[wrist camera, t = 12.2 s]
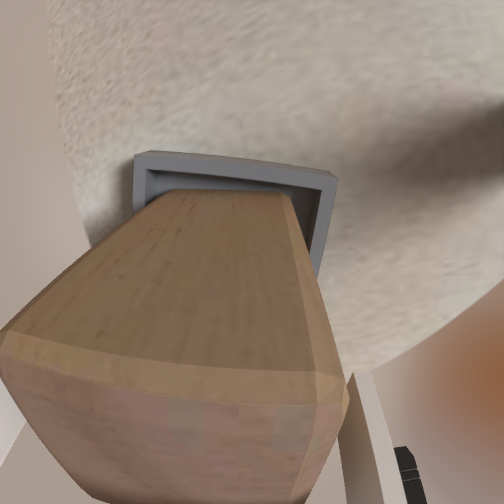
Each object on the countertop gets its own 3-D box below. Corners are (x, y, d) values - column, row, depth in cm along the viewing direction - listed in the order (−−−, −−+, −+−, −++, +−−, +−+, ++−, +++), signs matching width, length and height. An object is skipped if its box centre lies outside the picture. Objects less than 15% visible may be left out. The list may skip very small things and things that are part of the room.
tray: (150, 150, 24) (134, 154, 21) (328, 171, 24) (338, 178, 21) (149, 302, 29) (137, 322, 26) (296, 323, 29) (299, 345, 26)
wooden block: (172, 295, 28) (82, 498, 9) (165, 186, 24) (-31, 342, 5) (283, 302, 27) (297, 532, 9) (292, 189, 24) (370, 404, 5)
